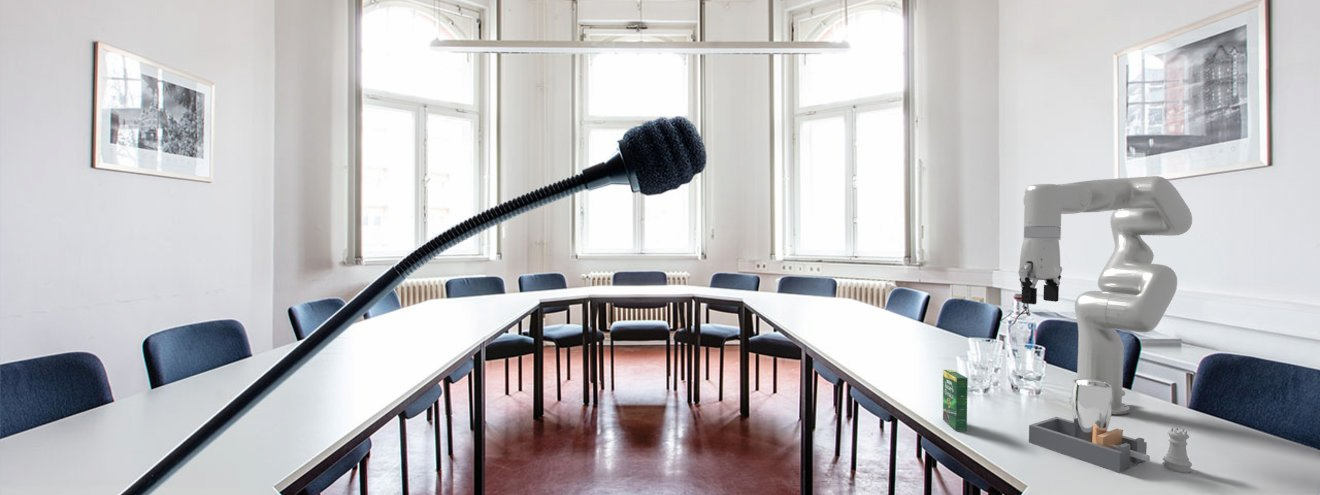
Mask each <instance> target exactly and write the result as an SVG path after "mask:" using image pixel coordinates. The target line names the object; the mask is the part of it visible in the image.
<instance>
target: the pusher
mask: <svg viewBox="0 0 1320 495" xmlns="http://www.w3.org/2000/svg"><path fill="white" fill-rule="evenodd" d="M1123 433H1124V431H1123V429H1120V428H1114V429H1112V430H1110V431H1108V432H1106V433H1103V434H1100V435H1098V436H1097V444H1098V445H1101V446H1105V447H1108V448H1111V449H1114V450H1118V446H1119V445H1122V438H1123V436H1124V434H1123ZM1130 456H1131V457H1134V458H1138V459H1141V460H1144V461H1145V462H1149V461H1150V459H1151V457H1150V456H1151V455H1149V454H1147V453H1146V454H1143V453H1139V452H1136V451H1133V450H1130Z"/></svg>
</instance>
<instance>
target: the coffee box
mask: <svg viewBox="0 0 1320 495" xmlns="http://www.w3.org/2000/svg"><path fill="white" fill-rule="evenodd" d="M968 380H969V378H968V377H966V376H964V375H962V374H961V373H959V372H958V371H956V370H953V369H943V370H942V420H943V421H944V422H945V423H947V425H949V427H951V428H952V429H953V430H955V431H956V432H967V430H968V388H969V387H968V385H969V384H968V382H969V381H968Z"/></svg>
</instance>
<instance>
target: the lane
mask: <svg viewBox="0 0 1320 495" xmlns="http://www.w3.org/2000/svg"><path fill="white" fill-rule="evenodd" d="M1107 432H1109V431H1108V430H1107ZM1028 443H1030V444H1033V445H1036V446H1039V447H1042V448H1044V449H1047V450H1051V451H1053V452H1056V453H1059V454H1061V455H1065V456H1068V457H1071V458H1074V459H1077V460H1079V461H1083V462H1086V463H1089V464H1092V465H1095V466H1098V467H1101V468H1103V469H1107V470H1110V471H1112V472H1116V473H1118V474H1119V473H1123V472H1124V471H1127V470H1129V469H1131V468H1134V467H1135V466H1138V465H1140V464H1143V463H1145V462H1146V461H1144V460H1141V459H1138V458H1134V457H1131V456H1130V450H1133V451H1136V452H1139V453H1143V454H1146V455H1147V450H1148V449H1147V448H1148V447H1147V444H1148V442H1146V441H1145V438H1142V437H1137V438H1132V437H1129V436H1125V435H1123V438H1122V445H1119V446H1118V450H1114V449H1111V448H1108V447H1105V446H1101V445H1098V444H1095V443H1092V442H1088V441H1085V440H1082V439H1079V438H1075V425H1074V420H1069V419H1066V418H1062V417H1058V416H1054V417H1052V418H1048V419H1044V420H1042V421H1038V422H1034V423H1032V424H1029V425H1028Z"/></svg>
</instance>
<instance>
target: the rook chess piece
mask: <svg viewBox="0 0 1320 495" xmlns="http://www.w3.org/2000/svg"><path fill="white" fill-rule="evenodd" d="M1167 435H1168V437H1169V439H1168V441H1169V447H1168V451H1167V453H1165V455H1164V456H1163V457H1162V460H1163V461H1162V462H1161V464H1162V465H1163V467H1165V468H1166V469H1168V470H1170V471H1173V472H1176V473H1177V472H1178V473H1183V474H1188V473H1191V472H1192V471H1193V468H1191V467H1192V466H1193V464H1192V462H1191V461H1190V458H1189V457H1188V453H1187V445H1188V442H1187V440H1188V439H1189V438H1190V435H1189V434H1188V431H1187V430H1185V429H1184V428H1183V429H1182V428H1181V429H1180V430H1179V428H1178V427H1174V428H1173V427H1170V429H1169V430H1168V431H1167Z"/></svg>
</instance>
